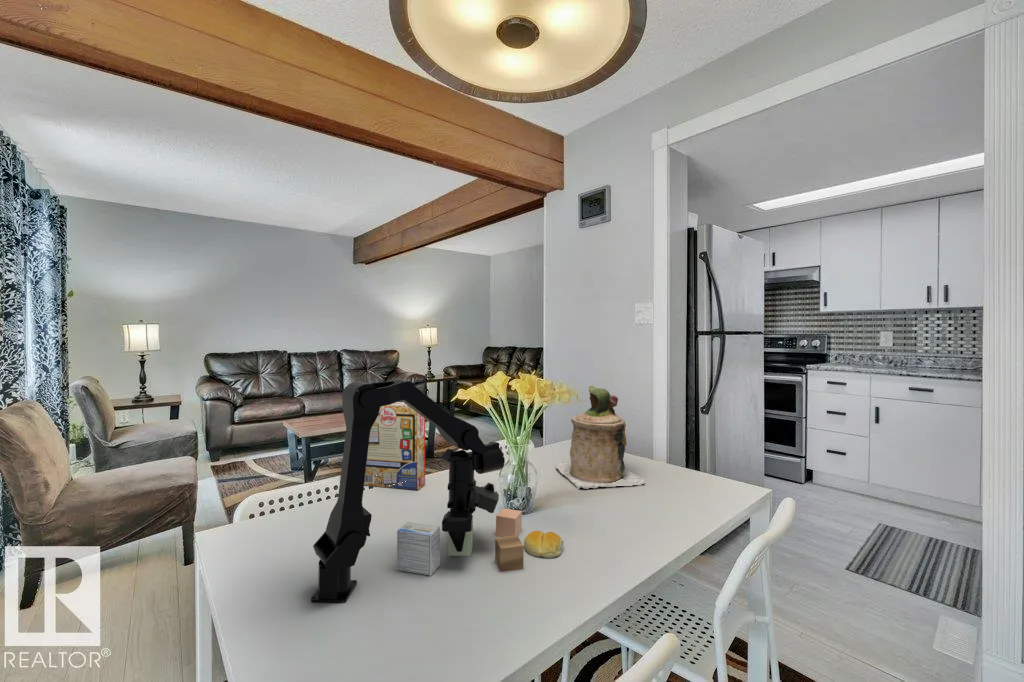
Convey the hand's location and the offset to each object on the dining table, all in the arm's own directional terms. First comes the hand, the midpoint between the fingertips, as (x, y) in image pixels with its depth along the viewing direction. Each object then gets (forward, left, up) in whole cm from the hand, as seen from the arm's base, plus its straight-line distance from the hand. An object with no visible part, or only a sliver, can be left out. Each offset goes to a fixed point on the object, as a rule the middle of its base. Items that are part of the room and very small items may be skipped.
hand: (460, 545), depth 100 cm
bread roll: (+1, -19, -2) cm, 19 cm away
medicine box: (-8, +8, -1) cm, 11 cm away
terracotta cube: (+9, -11, -1) cm, 14 cm away
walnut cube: (-6, -11, -1) cm, 13 cm away
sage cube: (0, 0, -1) cm, 1 cm away
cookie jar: (+54, -42, -1) cm, 68 cm away
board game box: (+43, +27, -1) cm, 51 cm away
